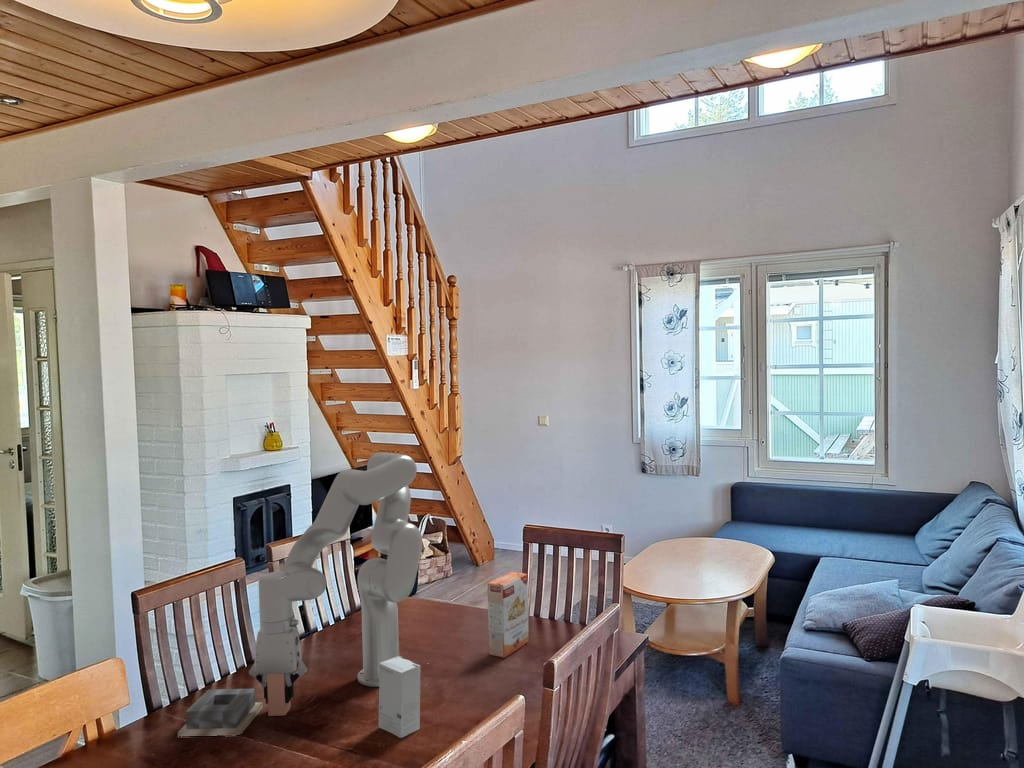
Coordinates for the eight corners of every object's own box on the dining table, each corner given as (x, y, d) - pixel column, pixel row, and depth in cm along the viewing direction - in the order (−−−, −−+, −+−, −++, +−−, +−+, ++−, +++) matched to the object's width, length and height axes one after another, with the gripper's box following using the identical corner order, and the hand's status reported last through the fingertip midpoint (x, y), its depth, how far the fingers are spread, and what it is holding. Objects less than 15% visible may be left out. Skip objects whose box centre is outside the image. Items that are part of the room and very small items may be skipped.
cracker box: (505, 659, 195) (503, 585, 195) (487, 655, 198) (485, 582, 199) (530, 642, 207) (528, 573, 207) (513, 639, 210) (511, 570, 210)
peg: (290, 707, 169) (289, 666, 169) (285, 715, 165) (283, 673, 165) (274, 707, 169) (273, 667, 169) (268, 715, 165) (266, 673, 165)
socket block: (262, 707, 170) (262, 686, 170) (239, 736, 156) (238, 713, 156) (206, 708, 170) (205, 687, 170) (177, 737, 156) (177, 714, 156)
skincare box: (378, 728, 158) (376, 663, 158) (398, 718, 162) (396, 654, 162) (402, 739, 152) (400, 672, 152) (422, 728, 157) (421, 663, 157)
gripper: (315, 618, 170) (318, 693, 170) (248, 620, 171) (250, 694, 171) (306, 629, 163) (308, 707, 163) (235, 631, 163) (238, 709, 163)
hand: (279, 700), depth 167 cm, fingers closed on peg, 4 cm apart
